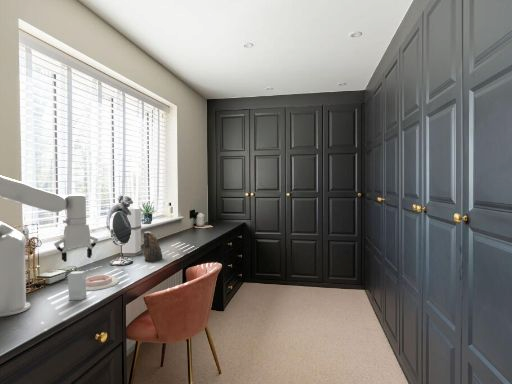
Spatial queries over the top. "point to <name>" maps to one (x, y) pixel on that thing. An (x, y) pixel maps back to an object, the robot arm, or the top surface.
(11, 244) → the robot arm
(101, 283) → the vanity tray
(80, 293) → the skincare box
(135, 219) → the white tall boxy piece
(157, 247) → the rock
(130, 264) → the top surface
